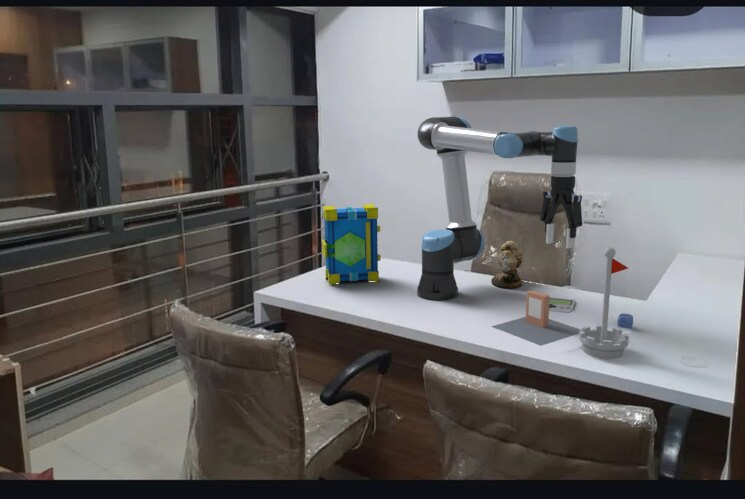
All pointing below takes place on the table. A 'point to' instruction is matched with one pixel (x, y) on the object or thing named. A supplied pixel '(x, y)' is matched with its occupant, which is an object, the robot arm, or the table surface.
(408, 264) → the table surface
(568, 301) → the handheld gaming console
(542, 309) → the card deck
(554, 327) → the mat
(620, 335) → the flag stand
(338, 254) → the decorative book
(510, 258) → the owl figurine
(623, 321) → the decorative dice
